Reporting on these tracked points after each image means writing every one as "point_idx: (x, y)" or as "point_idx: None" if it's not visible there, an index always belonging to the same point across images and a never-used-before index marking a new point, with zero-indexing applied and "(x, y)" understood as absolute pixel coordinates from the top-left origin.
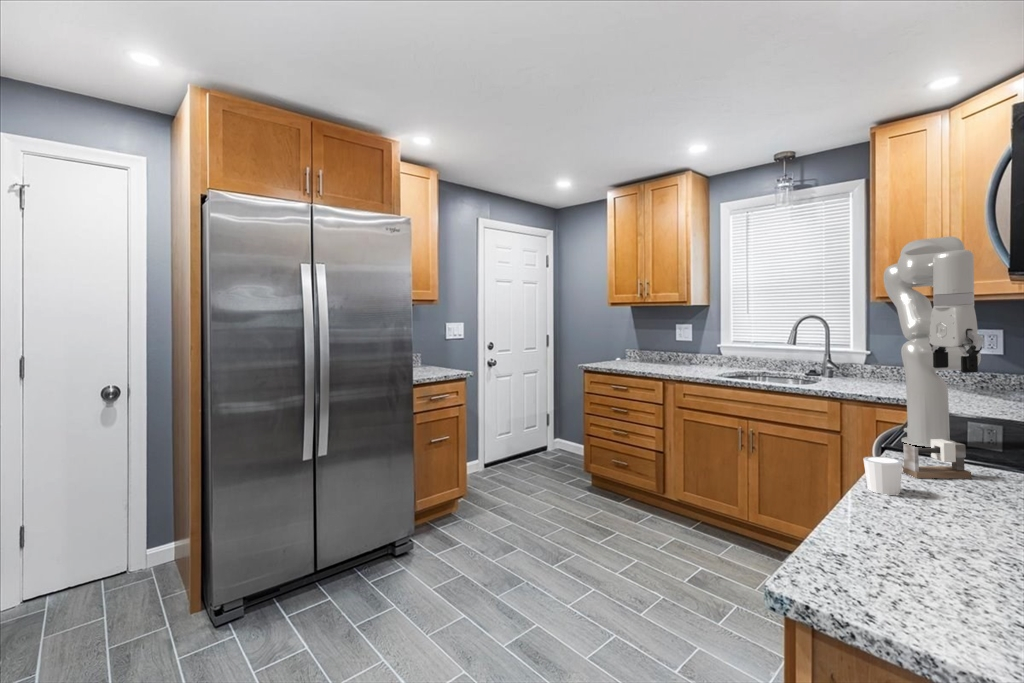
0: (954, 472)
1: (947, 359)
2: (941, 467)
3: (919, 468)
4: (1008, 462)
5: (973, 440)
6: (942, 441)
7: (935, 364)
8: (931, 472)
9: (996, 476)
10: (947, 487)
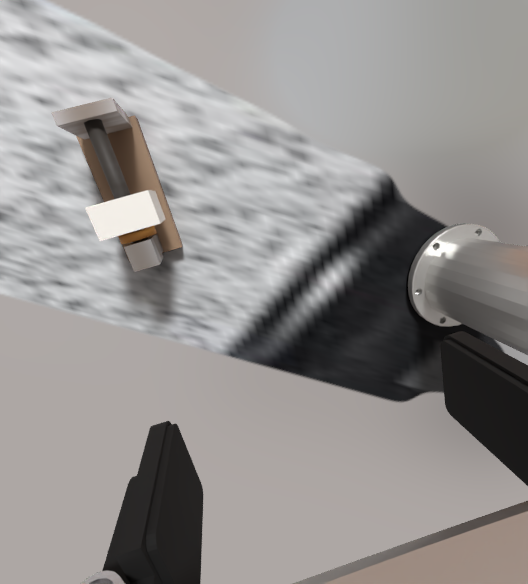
0: None
1: (489, 447)
2: None
3: (126, 154)
4: (307, 367)
5: None
6: (118, 213)
7: (456, 348)
8: (91, 170)
9: (173, 312)
10: (14, 179)
